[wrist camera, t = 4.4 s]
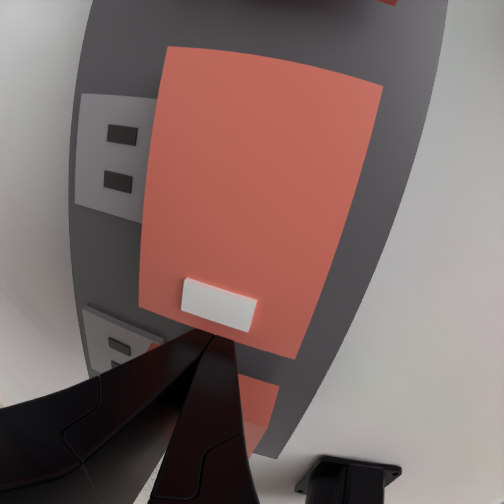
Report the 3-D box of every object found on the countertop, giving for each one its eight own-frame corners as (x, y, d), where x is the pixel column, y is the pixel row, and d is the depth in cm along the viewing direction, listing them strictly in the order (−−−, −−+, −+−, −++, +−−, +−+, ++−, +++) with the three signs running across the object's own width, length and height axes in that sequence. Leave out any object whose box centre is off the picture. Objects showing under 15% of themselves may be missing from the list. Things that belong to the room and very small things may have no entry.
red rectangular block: (249, 444, 13) (239, 474, 11) (165, 414, 13) (152, 442, 12) (279, 385, 9) (265, 432, 8) (151, 341, 9) (128, 381, 8)
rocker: (301, 325, 8) (293, 364, 7) (163, 281, 9) (135, 309, 8) (372, 92, 6) (384, 85, 4) (195, 56, 6) (163, 45, 5)
